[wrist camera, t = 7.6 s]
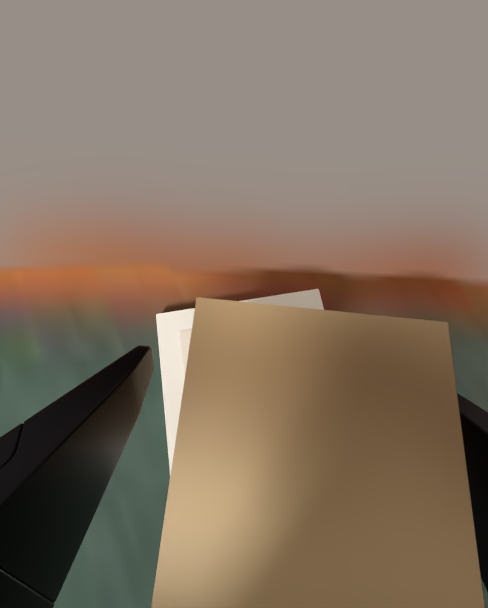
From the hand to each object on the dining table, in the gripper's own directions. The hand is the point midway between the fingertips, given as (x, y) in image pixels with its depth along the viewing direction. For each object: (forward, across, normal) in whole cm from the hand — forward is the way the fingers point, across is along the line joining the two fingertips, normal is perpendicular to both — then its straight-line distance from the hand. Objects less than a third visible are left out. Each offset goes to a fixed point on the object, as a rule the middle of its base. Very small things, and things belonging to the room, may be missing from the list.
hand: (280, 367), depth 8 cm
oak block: (+5, 0, +7) cm, 8 cm away
